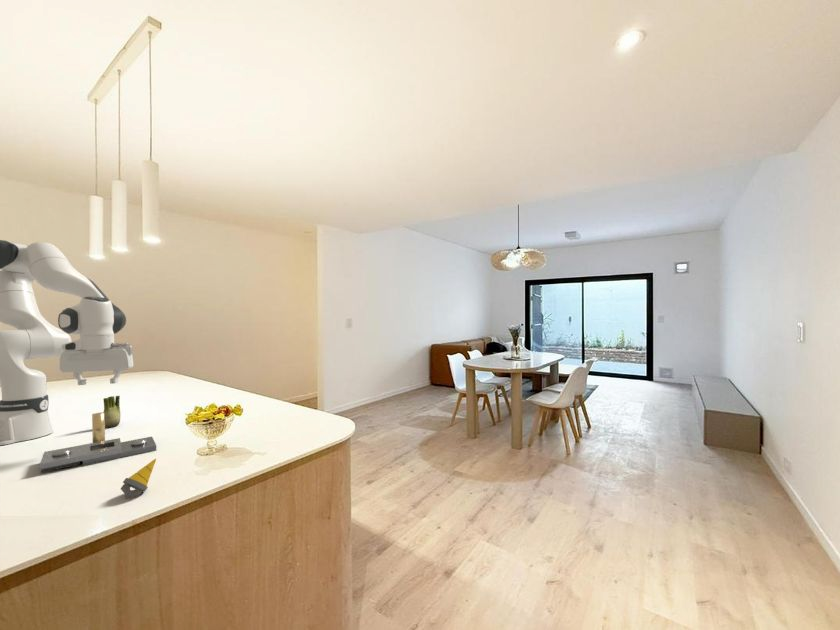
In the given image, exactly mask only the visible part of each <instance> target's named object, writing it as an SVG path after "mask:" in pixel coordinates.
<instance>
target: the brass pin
mask: <svg viewBox="0 0 840 630" xmlns="http://www.w3.org/2000/svg"><path fill="white" fill-rule="evenodd" d="M91 423H92V427H91V428H92V429H91V430H92V443H96V442H101V441H106V427H105V413H104V411H103V412H96V413H92V414H91Z"/></svg>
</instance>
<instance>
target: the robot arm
mask: <svg viewBox="0 0 840 630" xmlns="http://www.w3.org/2000/svg"><path fill="white" fill-rule="evenodd" d="M34 281H36V283H38V284H39V286H41V287H42V288H44V289H47V290H50V291H54V292H58V293H64V294H69V295H73V296H77V297H80V298H81V299H80V301H79V302H78V303H77V304H75V305H73V306H71V307H66V308H65V309H63V310H62V311H61V312H60V313H59V314H58V318H57V319H58V320H57V322H58V323H57V325H58V326H55V325H53V324H52V323H50V322H49V321H47V319H46V318H45V317H44V316H43V315H42V313H41V311H40V309H39V306H38V302H37V298H36V294H35V291H34V289H33V282H34ZM0 322H1V323H2V324H4V325H9V326H11V327H13V328H15V329H0V389H1V390H0V391H1V400H0V446H5V445H10V444H13V443H18V442H23V441H29V440H33V439H37V438H41V437H45V436H47V435H50V434H51V433H53V432H54V429H53V427H52V425H51V421H50V417H49V411H48V410H49V395H48V394H47V388H48V387H47V375H46V374H45V373H44V372H43V371H40V370H39V369H38V370H37V369H36V368H31V367H27V366H26V365H25V362H24V361H25V360H34V359H46V358H54V357H56V356H57V357H58V356H59V357H60V358H59V370H60V371H61V372H62V373H73V377H74V378H75V379H76V380H77V385H78V386H85V385H87V378H83V376H82V375H83V373H84V372H85V373H86V372H103V371H104V372H105V371H113V374H114V376H113V377H111V378H109V381H110V382H109V384H118V382H119V377H120V376H121V374H122V371H126V370H130V369H132V368H133V367H134V358H133V346H132V345H131V344H128V343H127V342H123V343H119V342H118V343H117V342H115V335H116V334H117V333H119V332H121V331H122V329H124V327H125V326H126V324H127V317H126V314H125V312H123V311H122V310H121V309H120V308H119V307H118V306H117V305H115V304H114V303H113V302H112V300H110V299H109V298H108V297H107V295H106V294H105V293H104V292H103V290H101V288H99V286H98V285H97V284H96V283H95V282H94V281H93V280H91V279H90V278H88V277H87V276H85V275H84V274H82V273H81V272H79V271H78V270H77V269H76V268H75V267H74V266H73V265H72V264H71V263H70V261H69V259H68V258H67V257H66V255H65V254H64V253H63V252H62V251H61V250H60V249H59V248H58V247H57V246H56V245H54V244H53V243H50V242H46V241H38V242H37V241H36V242H34V243H33V242H32V243H30V244H29V245H28V244H23V243H17V242H10V241H7V240H4V239H3V240H2V239H0ZM71 335H79V339H77V340H73V341H72V337H71Z"/></svg>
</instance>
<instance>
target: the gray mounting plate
mask: <svg viewBox="0 0 840 630" xmlns="http://www.w3.org/2000/svg"><path fill="white" fill-rule="evenodd" d="M155 451H157V444H156V442H155V440H154V437H153V436H146V437H142V438H137V439H132V440H131V439H130V440H127V441H121V438H120V437H118V438H113V439H112V438H111V439H107V440H106V439H105V441H101V442H96V443H93V442H91V443H90V442H89V443H86V444H80V445H75V446H69V447H64V448H63V447H62V448H59V449H52V450H47V451H44V452H43V455H42V457H41V460H40V463H39V470H40V473H46V472H50V471H55V470H59V469H65V468H68V467H75V466H79V465H81V462H82V466H89V465H93V464H99V463H103V462H107V461H112V460H117V459H122V458H127V457H130V456H135V455H140V454H146V453H150V452H155Z"/></svg>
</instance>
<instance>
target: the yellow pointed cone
mask: <svg viewBox="0 0 840 630" xmlns="http://www.w3.org/2000/svg"><path fill="white" fill-rule="evenodd" d="M156 460H157V458H155V459H153V460H152V461H150V462H149V463H148V464H146V465H145V466H144V467H141V468H140V469H139V470H138V471H136V472H135V473H134V474H132V475H131V476H129V477H126V478H125V479H124V480H123V482H122V483H123V484H122V486H121V487H120V490H121V491H122V493H123V495H125V497H124V499H126V500H127V499H131V498H132V499H133V498H137V497H140V495H141V494H142V493H143V492H144V493H145V492H146V491H147V489H148V488H149V487H148V483H149V481H150V478H151V475H152V472H153V470H154V466H155V463H156ZM131 488H132V489H133V490H132V489H131Z"/></svg>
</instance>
